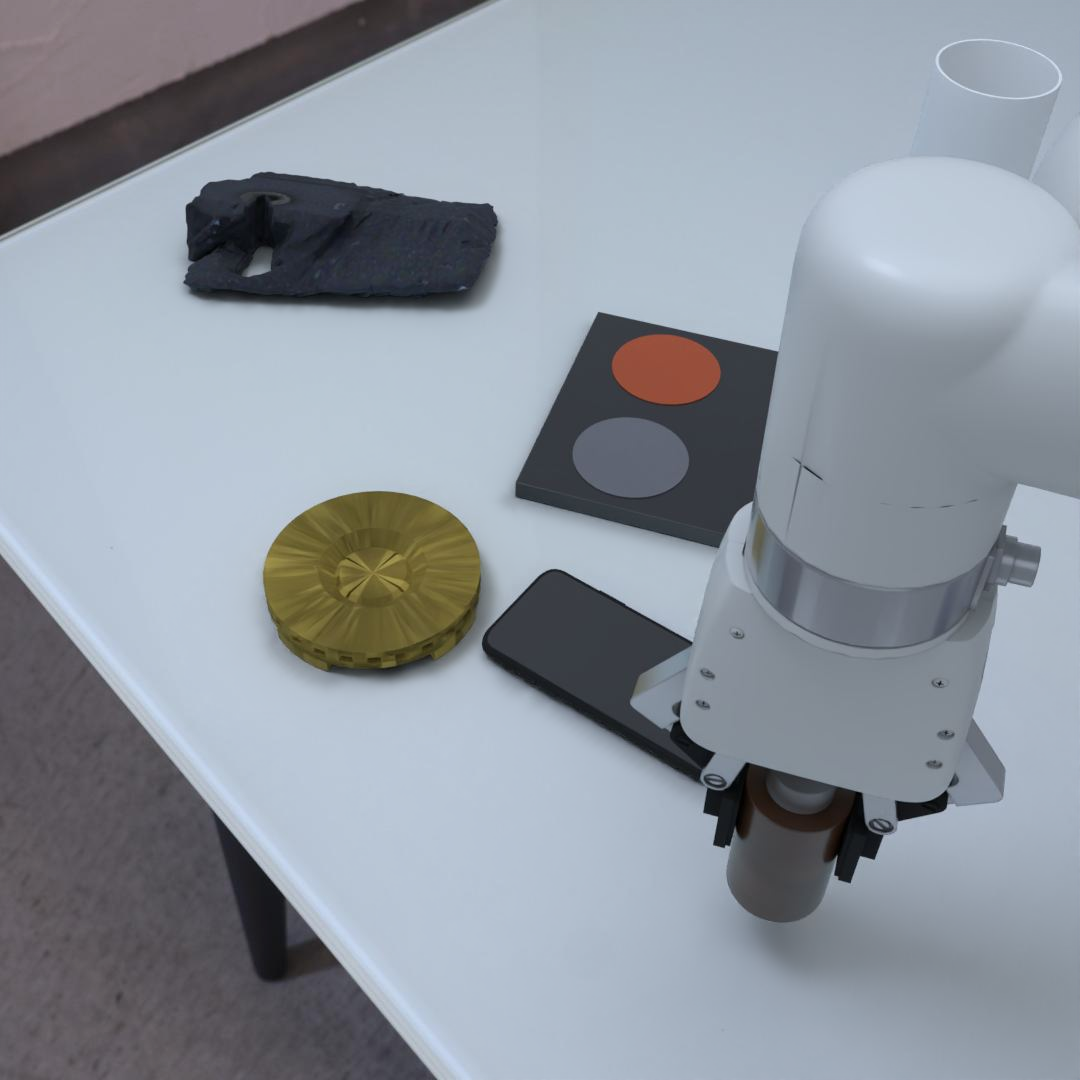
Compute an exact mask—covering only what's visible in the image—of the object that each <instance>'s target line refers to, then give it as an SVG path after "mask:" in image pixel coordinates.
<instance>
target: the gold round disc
mask: <svg viewBox="0 0 1080 1080" xmlns="http://www.w3.org/2000/svg"><path fill="white" fill-rule="evenodd" d="M481 563H482V562H481V555H480V552H479V548H478V545H477V542H476V540H475V538H474V537H473V535H472V533H471V532H470V531H469V529H468V528H467V526H466V525H465V524H464V523H463V522H462V521H461V520H460V519H459V517H457V516H455V514H453V513H451V512H450V511H449V510H447V509H446V508H444V507H443V506H441V505H440V504H438V503H436V502H433V501H431V500H428V499H427V498H423V497H420V496H417V495H413V494H409V493H404V492H396V491H389V490H388V491H387V490H386V491H385V490H371V491H368V490H367V491H359V492H352V493H348V494H343V495H339V496H336V497H333V498H330V499H326V500H324V501H322V502H320V503H317V504H315V505H314V506H311V507H309V508H308V509H306V510H304V511H303V512H301V513H300V514H299V515H297V516H296V517H294V518H293V519H292V520H291V521H290V522H288V523H287V525H285V527H283V529H282V530H281V531H280V532H279V533H278V534H277V536H276V537H275V539H274V540H273V541H272V543H271V546H270V547H269V549H268V551H267V553H266V557H265V560H264V565H263V572H262V582H263V583H262V585H263V588H264V595H265V599H266V605H267V610H268V613H269V615H270V618H271V620H272V623H274V626H275V627H276V629H277V632H278V633H277V634H278V638H279V639H280V641H281V642H282V643H283V644H284V646H285V647H286V648H287V649H288V650H289V651H291V653H293V654H294V655H295V656H297V657H298V658H299V659H300V660H302V661H304V662H305V663H307V664H309V665H311V666H312V667H314V668H317V669H320V670H321V671H322V670H323V671H325V672H329V671H330V669H331V667H332V665H333V666H337V667H342V668H348V669H361V670H373V669H387V668H392V667H399V666H402V665H406V664H409V663H412V662H415V661H418V660H420V659H423V658H425V657H427V656H431V658H432V659H433V660H434V661H437V660H439V659H440V658H442V657H443V656H444V655H446V654H447V653H448V652H450V651H451V650H452V649H454V647H456V646H457V645H458V644H459V642H461V641H462V640H463V638H464V637H465V636H466V635H467V633H468V632H469V631H470V629H471V627H472V626H473V624H474V622H475V620H476V614H477V613H476V611H477V610H476V609H477V606H478V604H479V600H480V595H481V588H482V583H481V581H482V571H481V569H482V568H481V567H482V566H481V565H482V564H481Z"/></svg>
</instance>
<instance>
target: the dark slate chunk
mask: <svg viewBox="0 0 1080 1080" xmlns="http://www.w3.org/2000/svg"><path fill="white" fill-rule="evenodd" d="M184 210H185V223H186V245H187V248H188V253H187V260H188V261H189V262H191V263H192V264H190V265H189V266H188V267H187V273H185V275H184V278H185V279H184V280H183V282H182V284H184V285H185V286H187V287H189V288H190V289H192V290H193V291H198V290H199V291H202V292H207V293H209V292H215V291H216V290H230V291H236V292H243V293H247V294H248V295H252V294H260V295H264V296H271V295H281V296H294V298H302V297H306V296H312V295H316V294H332V295H333V294H334V295H337V296H353V295H355V294H357V295H358V298H368V297H369V296H371V295H375V296H376V297H384V296H395V297H399V298H404V297H405V298H406V297H410V296H414V297H415V298H416V299H423V298H424V297H425V296H427V295H432V294H433V295H435V293H449V292H463V291H466V290H468V289H470V288H471V287H472V286H473V284H474V283H475V282H476V280H477V279H478V277H479V276H480V274H481V270H482V268H483V266H484V265H485V262H486V260H487V259H488V258H489V257H490V254H491V251H492V249H491V248H492V244H493V242H494V241H495V240H496V235H497V229H496V227H497V226H498V224H499V220H498V215H497V213H496V212H495V210H494V205H491V204H490V203H488V202H485V203H477V202H476V203H475V202H461V201H446V200H441V201H440V200H437V199H434V198H428V197H422V196H415V195H406V194H405V193H403V192H395V191H392V190H387V189H384V188H382V187H372V186H368V185H358V184H357V183H356V182H346V181H339V180H334V179H330V178H320V177H312V176H307V175H300V174H289V173H280V172H279V173H278V172H275V171H265V172H263V171H260V172H256V173H254V174H252V175H251V176H250V177H248V178H243V179H222V180H218V181H217V180H216V181H209V182H207V183H206V184H204V185H203V187H201V189H200V191H199V195H198V196H195V197H194V198H193V199H192V200H191V202H188V203H187V204H186V205H185V209H184ZM265 245H266V246H269V247H271V248H272V249H273V251H272V253H271V260H270V270H269V271H266V272H262V273H259V274H252V275H250V276H244V275H243V274H242V273H243V271H244V269H246V268H248V266H249V265H250V263H251V261H252V260H253V258H254V255H253V253H254V252H255V251H256V249H257V248H259V247H263V246H265Z"/></svg>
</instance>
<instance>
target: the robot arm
mask: <svg viewBox="0 0 1080 1080" xmlns="http://www.w3.org/2000/svg"><path fill="white" fill-rule="evenodd" d="M778 351H779V352H778V358H777V363H776V369H775V375H774V381H773V387H772V393H771V399H770V405H769V411H768V416H767V422H766V428H765V434H764V440H763V446H762V451H761V459H760V463H759V469H758V476H757V481H756V486H755V492H754V498H753V501H752V502H750V503H748V504H747V505H745V506H744V507H742V508H741V509H740V510H739V511H738V512H737V513H736V514H735V516H734V517H733V519H732V521H731V523H730V525H729V527H728V529H727V531H726V533H725V535H724V537H723V539H722V542H721V544H720V547H718V550H717V553H716V555H715V558H714V560H713V563H712V566H711V570H710V573H709V576H708V581H707V584H706V586H705V591H704V594H703V599H702V603H701V607H700V610H699V615H698V619H697V623H696V627H695V631H694V635H693V639H692V642H693V644H692V646H690V647H688V648H686V649H685V650H683V651H681V652H679V653H678V654H676V655H674V656H672V657H671V658H669V659H667V660H665V661H663V662H662V663H660V664H658V665H656V666H655V667H653V668H651V669H649V670H648V671H646V672H644V673H642V674H641V675H640V676H639V677H638V679H637V682H636V685H635V688H634V691H633V694H632V697H631V700H630V704H631V706H632V707H633V708H634V709H635V710H637V711H638V712H639V713H641V714H642V715H643V716H645V717H646V718H648V719H649V720H650V721H652V722H653V723H654V724H656V725H657V726H658V727H660V728H661V729H663V728H666V729H667V730H669V731H670V739H671V740H672V741H673V743H675V744H676V745H677V746H678V747H679V748H680V749H681V750H682V751H683V752H684V753H685V754H686V755H688V756H689V757H690V758H691V759H692V760H693V761H694V762H695V763H696V764H697V765H698V766H699V767H701V768H702V769H703V770H702V773H701V777H700V779H701V781H700V782H701V784H702V785H704V786H705V787H706V793H705V797H704V805H703V809H702V813H703V814H706V815H709V816H713V817H716V818H717V820H716V821H717V822H716V825H715V832H714V837H713V843H712V846H714V847H718V848H722V849H725V848H726V846H727V847H731V843H732V838H733V833H734V829H735V825H736V820H737V816H738V811H739V806H740V801H741V797H742V792H743V787H744V782H745V778H746V772H747V769H748V766H749V764H750V763H752V764H755V765H759V766H763V767H766V768H770V769H774V770H777V771H781V772H785V773H789V774H792V775H796V776H800V777H803V778H807V779H811V780H815V781H819V782H823V783H827V784H830V785H834V786H838V787H842V788H846V789H850V790H854V791H856V796H855V802H854V806H853V809H852V812H851V815H850V818H849V821H848V824H847V827H846V830H845V834H844V837H843V840H842V843H841V846H840V849H839V852H838V855H837V858H836V861H835V865H834V871H833V876H834V877H837V880H838V881H839V882H843V883H847V884H851V883H852V880H853V877H854V875H855V872H856V869H857V866H858V864H859V860H860V858H866V859H869V860H873V861H875V860H876V858H877V855H878V852H879V850H880V847H881V844H882V842H883V838H884V836H889V835H890V836H891V835H893V834H895V833H896V832H897V831H898V824H899V822H902V821H906V820H912V819H915V818H916V819H917V818H921V817H926V816H930V815H935V814H939V813H943V812H945V811H946V810H947V809H948V805H955V806H956V807H967V806H976V805H977V806H978V805H987V804H995V803H999V802H1001V801H1002V800H1003V798H1004V794H1005V783H1006V773H1007V770H1006V768H1005V765H1004V764H1003V762H1002V761H1001V759H1000V758H999V756H998V755H997V753H996V752H995V750H994V749H993V747H992V745H991V744H990V742H989V740H988V739H987V738H986V736H985V735H984V733H983V731H982V730H981V728H980V726H979V725H978V724H977V722H976V721H975V719H974V717H973V716H974V713H975V709H976V706H977V702H978V699H979V695H980V691H981V688H982V685H983V679H984V674H985V668H986V664H987V659H988V654H989V648H990V643H991V639H992V633H993V629H994V626H995V624H996V615H997V608H998V599H999V598H998V597H999V586H1001V587H1007V586H1008V583H1009V584H1012V585H1017V586H1022V587H1026V588H1032V586H1033V585H1034V584H1035V581H1036V577H1037V575H1038V571H1039V568H1040V567H1039V566H1040V562H1041V557H1042V547H1041V546H1040V545H1034V544H1030V543H1025V542H1021V541H1019V539H1018V536H1013V535H1010V534H1007V528H1008V525H1007V524H1004V522H1005V520H1006V516H1007V514H1008V512H1009V508H1010V506H1011V503H1012V501H1013V498H1014V496H1015V492H1016V490H1017V487H1018V485H1022V486H1027V487H1030V488H1036V489H1038V490H1043V491H1046V492H1050V493H1054V494H1057V495H1061V496H1065V497H1068V498H1072V499H1075V500H1080V112H1079V113H1078V114H1076V116H1075V117H1074V118H1073V119H1072V120H1071V121H1070V122H1069V123H1068V124H1067V125H1066V126H1065V127H1064V128H1063V129H1062V130H1061V132H1060V133H1059V134H1058V136H1057V137H1056V139H1055V140H1054V141H1053V143H1051V145H1050V146H1049V148H1048V149H1047V150H1046V152H1045V154H1044V155H1043V157H1042V158H1041V160H1040V162H1039V164H1038V166H1037V168H1036V171H1035V173H1034V174H1033V177H1032V178H1031V180H1030V179H1029V180H1027V179H1025V178H1023V177H1021V176H1019V175H1017V174H1015V173H1012V172H1009V171H1007V170H1004V169H1001V168H999V167H996V166H992V165H989V164H985V163H981V162H977V161H972V160H967V159H961V158H953V157H942V156H915V157H909V156H905V157H904V156H903V157H898V158H897V157H896V158H893V159H887V160H883V161H879V162H876V163H873V164H870V165H867V166H864V167H862V168H860V169H858V170H856V171H853V172H851V173H849V174H847V175H846V176H845V177H843V178H841V179H840V180H839V181H837V182H835V183H834V184H833V185H832V186H831V187H829V188H828V189H827V190H826V191H825V192H824V193H823V194H822V196H820V197H819V199H818V200H817V202H816V203H815V204H814V206H813V207H812V209H811V210H810V211H809V214H808V216H807V217H806V219H805V222H804V224H803V226H802V228H801V231H800V234H799V238H798V242H797V246H796V251H795V256H794V259H793V263H792V270H791V276H790V282H789V287H788V293H787V298H786V305H785V311H784V317H783V323H782V328H781V333H780V340H779V346H778Z"/></svg>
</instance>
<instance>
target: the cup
mask: <svg viewBox="0 0 1080 1080" xmlns="http://www.w3.org/2000/svg"><path fill="white" fill-rule="evenodd" d="M934 58H935V59H934V61H933V63H932V64H933V65H932V68H931V72H930V76H929V79H928V82H927V86H926V90H925V93H924V98H923V101H922V106H921V109H920V114H919V116H918V117H919V118H918V120H917V124H916V128H915V131H914V136H913V140H912V143H911V147H910V150H909V151H910V152H909V155H908V157H915V156H942V157H953V158H961V159H967V160H972V161H977V162H981V163H985V164H989V165H992V166H996V167H999V168H1001V169H1004V170H1007V171H1009V172H1012V173H1015V174H1017V175H1019V176H1021V177H1023V178H1025V179H1027V180H1029V181H1030V177H1031V174H1032V171H1033V168H1034V166H1035V162H1036V159H1037V157H1038V154H1039V151H1040V148H1041V145H1042V142H1043V139H1044V136H1045V133H1046V130H1047V128H1048V124H1049V123H1050V119H1051V116H1052V113H1053V110H1054V107H1055V104H1056V101H1057V98H1058V95H1059V92H1060V90H1061V86H1062V82H1063V75H1062V74H1063V73H1062V71H1061V70H1060V68H1059V67H1058V65H1057V64H1056V63H1055V62H1054V61H1053V60H1052V59H1051V58H1049V57H1048V56H1046V55H1044V54H1043V53H1041V52H1039V51H1037V50H1035V49H1033V48H1030V47H1027V46H1025V45H1021V44H1019V43H1014V42H1011V41H1005V40H1000V39H993V38H992V39H989V38H972V39H971V38H969V39H963V40H958V41H955V42H951V43H949V44H947V45H945V46H943V47H942V48H941V49H940V50H939V51H938V52H937V54H936V56H935V57H934Z"/></svg>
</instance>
